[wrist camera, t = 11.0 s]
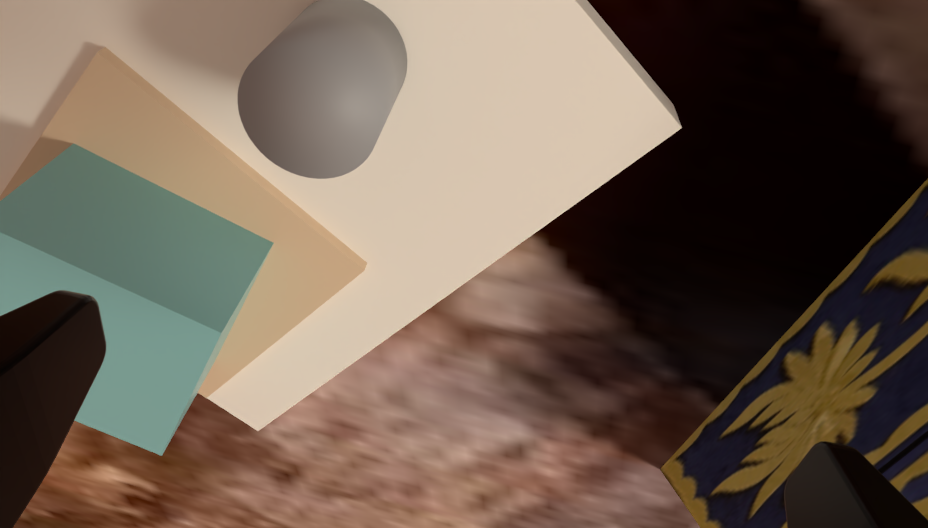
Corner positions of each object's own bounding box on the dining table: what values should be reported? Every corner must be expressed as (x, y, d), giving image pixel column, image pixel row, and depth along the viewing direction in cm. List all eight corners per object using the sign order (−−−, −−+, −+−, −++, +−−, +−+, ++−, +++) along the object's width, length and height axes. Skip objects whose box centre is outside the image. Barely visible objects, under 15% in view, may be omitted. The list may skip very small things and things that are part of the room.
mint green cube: (273, 242, 20) (221, 333, 17) (214, 361, 23) (161, 455, 20) (73, 143, 19) (-26, 220, 15) (41, 284, 22) (-46, 372, 19)
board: (255, -401, 13) (126, -477, 9) (672, 104, 18) (708, 198, 14) (-71, 170, 22) (-208, 259, 18) (270, 401, 27) (222, 511, 23)
